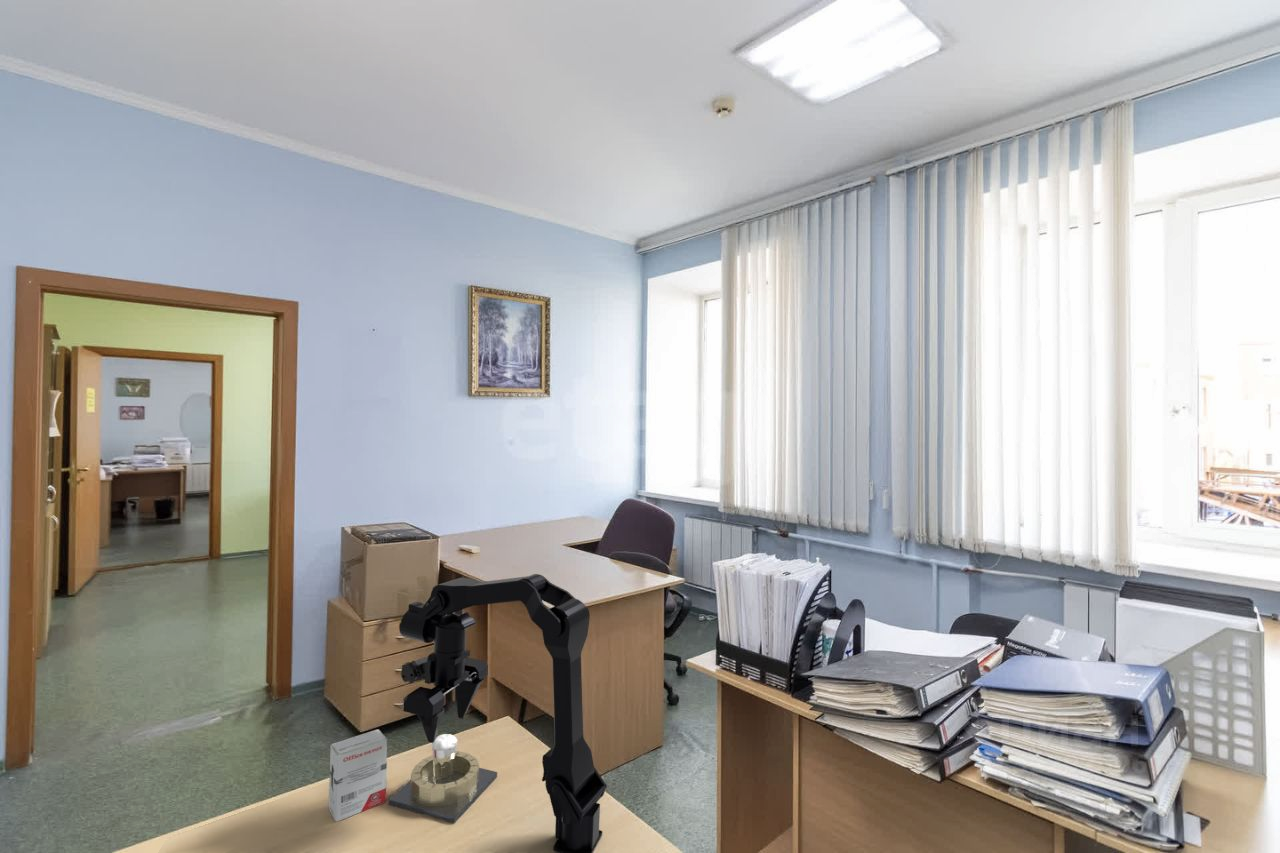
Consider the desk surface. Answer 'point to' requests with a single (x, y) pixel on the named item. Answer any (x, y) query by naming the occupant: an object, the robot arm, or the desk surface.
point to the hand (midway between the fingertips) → (446, 729)
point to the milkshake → (444, 758)
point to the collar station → (444, 789)
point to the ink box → (357, 774)
